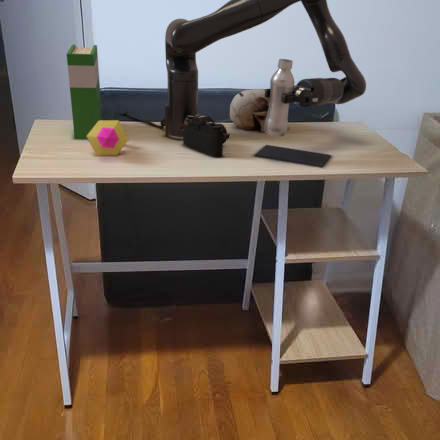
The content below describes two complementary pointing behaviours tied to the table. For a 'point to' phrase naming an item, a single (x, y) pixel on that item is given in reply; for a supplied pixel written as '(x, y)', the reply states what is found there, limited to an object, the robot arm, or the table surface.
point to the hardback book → (84, 89)
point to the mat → (293, 155)
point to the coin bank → (250, 109)
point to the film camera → (204, 135)
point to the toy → (107, 137)
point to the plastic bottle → (279, 99)
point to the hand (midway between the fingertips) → (274, 96)
